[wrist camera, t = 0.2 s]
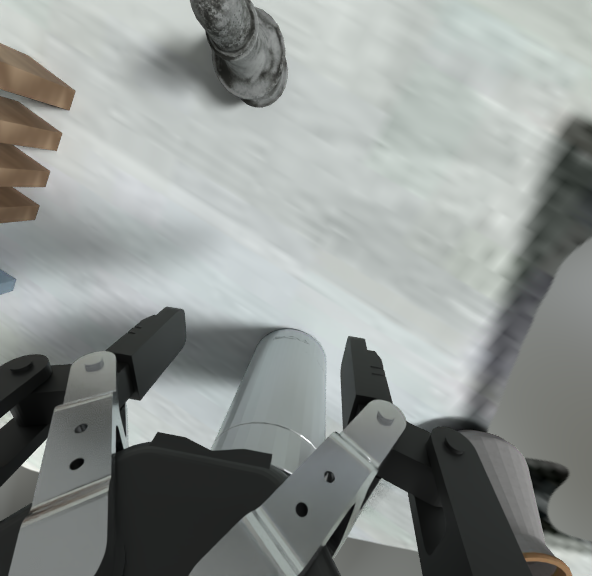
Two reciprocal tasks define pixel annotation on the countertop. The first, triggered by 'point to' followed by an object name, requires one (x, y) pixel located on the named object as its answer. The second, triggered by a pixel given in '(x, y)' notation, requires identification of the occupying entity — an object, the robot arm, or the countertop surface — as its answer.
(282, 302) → the countertop surface
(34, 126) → the domino
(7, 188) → the domino
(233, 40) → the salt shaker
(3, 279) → the blue domino
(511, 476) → the coffee pot
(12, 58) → the domino
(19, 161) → the domino
